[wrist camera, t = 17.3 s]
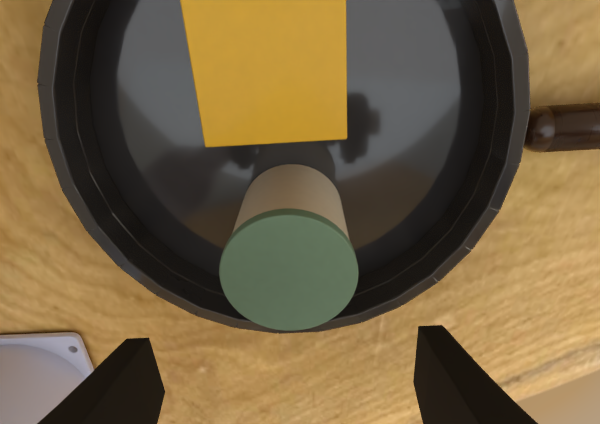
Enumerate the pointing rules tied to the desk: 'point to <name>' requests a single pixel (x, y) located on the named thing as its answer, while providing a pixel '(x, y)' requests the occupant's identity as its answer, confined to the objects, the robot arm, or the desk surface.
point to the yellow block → (268, 69)
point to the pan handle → (563, 128)
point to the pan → (288, 144)
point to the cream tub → (289, 251)
